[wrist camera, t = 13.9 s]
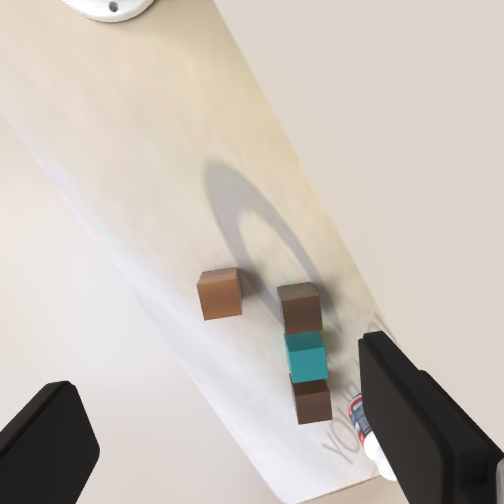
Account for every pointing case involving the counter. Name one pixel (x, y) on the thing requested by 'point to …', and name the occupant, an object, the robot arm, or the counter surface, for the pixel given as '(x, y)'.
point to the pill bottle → (369, 438)
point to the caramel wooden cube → (220, 293)
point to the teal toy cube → (306, 356)
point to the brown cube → (311, 401)
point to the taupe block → (300, 308)
